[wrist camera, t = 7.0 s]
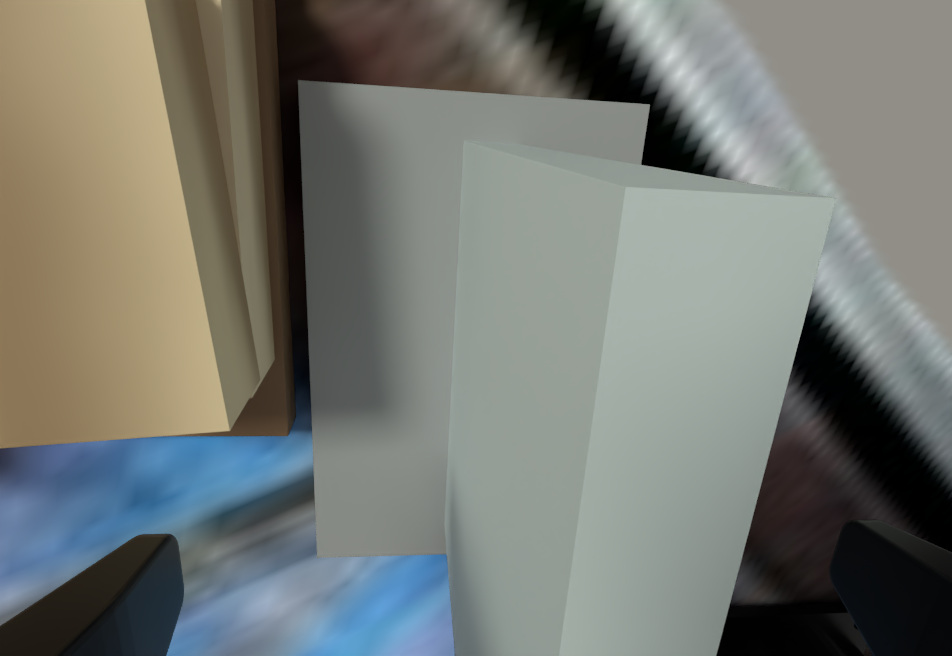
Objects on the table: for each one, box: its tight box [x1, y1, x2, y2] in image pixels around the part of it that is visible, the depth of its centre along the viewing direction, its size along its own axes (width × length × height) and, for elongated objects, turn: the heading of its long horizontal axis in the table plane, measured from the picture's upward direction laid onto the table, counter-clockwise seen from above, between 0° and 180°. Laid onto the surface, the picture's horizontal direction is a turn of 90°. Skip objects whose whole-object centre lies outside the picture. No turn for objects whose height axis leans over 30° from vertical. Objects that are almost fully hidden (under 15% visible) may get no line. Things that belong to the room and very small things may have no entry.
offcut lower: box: [196, 0, 275, 398], centre depth 11 cm, size 5×8×2 cm, turn 177°
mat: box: [298, 80, 650, 558], centre depth 14 cm, size 8×12×1 cm, turn 177°
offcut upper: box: [0, 0, 260, 448], centre depth 9 cm, size 4×7×2 cm, turn 2°
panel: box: [444, 141, 836, 656], centre depth 9 cm, size 1×10×10 cm, turn 177°
